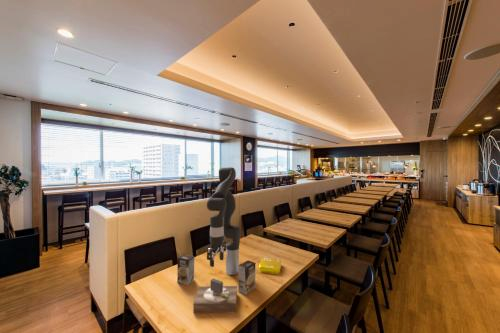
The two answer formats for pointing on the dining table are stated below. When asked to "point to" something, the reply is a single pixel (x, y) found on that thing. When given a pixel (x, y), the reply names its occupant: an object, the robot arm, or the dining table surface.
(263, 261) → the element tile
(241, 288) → the coffee box
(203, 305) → the tuner box
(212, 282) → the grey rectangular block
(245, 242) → the dining table surface
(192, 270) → the coffee box
